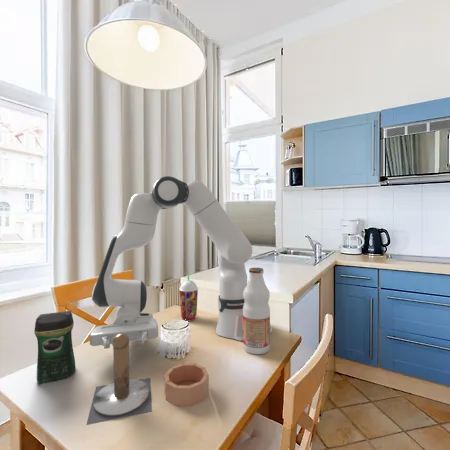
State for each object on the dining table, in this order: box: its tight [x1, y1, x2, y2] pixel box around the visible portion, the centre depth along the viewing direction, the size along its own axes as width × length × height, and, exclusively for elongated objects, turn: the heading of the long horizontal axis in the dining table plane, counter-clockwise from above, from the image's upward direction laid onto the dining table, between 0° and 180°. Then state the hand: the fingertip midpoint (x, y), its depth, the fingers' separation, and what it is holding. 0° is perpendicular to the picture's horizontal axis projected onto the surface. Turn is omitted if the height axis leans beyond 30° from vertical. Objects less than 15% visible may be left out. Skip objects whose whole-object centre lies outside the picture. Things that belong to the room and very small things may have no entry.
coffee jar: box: [33, 310, 76, 384], centre depth 81 cm, size 10×8×19 cm
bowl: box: [163, 362, 210, 407], centre depth 73 cm, size 11×12×5 cm
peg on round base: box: [94, 333, 149, 417], centre depth 70 cm, size 13×13×16 cm
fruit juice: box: [242, 267, 271, 355], centre depth 96 cm, size 9×9×28 cm
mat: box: [86, 377, 153, 426], centre depth 70 cm, size 14×14×1 cm
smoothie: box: [178, 273, 199, 321], centre depth 124 cm, size 8×8×20 cm
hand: (124, 343), depth 81 cm, fingers open, 8 cm apart
